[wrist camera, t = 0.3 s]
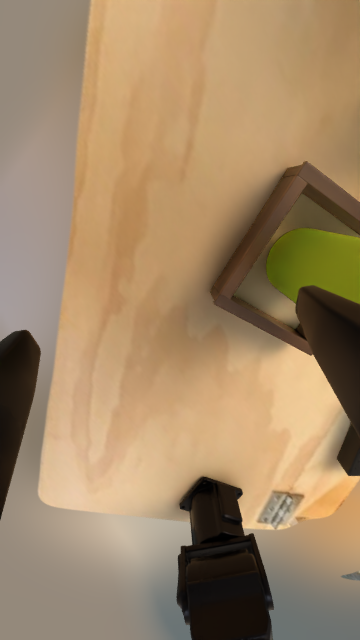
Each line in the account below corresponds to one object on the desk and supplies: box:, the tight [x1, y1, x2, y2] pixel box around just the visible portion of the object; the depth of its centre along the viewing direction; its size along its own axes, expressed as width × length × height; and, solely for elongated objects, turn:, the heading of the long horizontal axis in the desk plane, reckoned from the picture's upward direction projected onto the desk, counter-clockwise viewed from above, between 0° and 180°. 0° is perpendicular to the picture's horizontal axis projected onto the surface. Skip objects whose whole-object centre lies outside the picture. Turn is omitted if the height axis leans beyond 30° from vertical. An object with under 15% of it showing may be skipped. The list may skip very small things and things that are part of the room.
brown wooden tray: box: [210, 161, 360, 355], centre depth 23 cm, size 12×11×3 cm
